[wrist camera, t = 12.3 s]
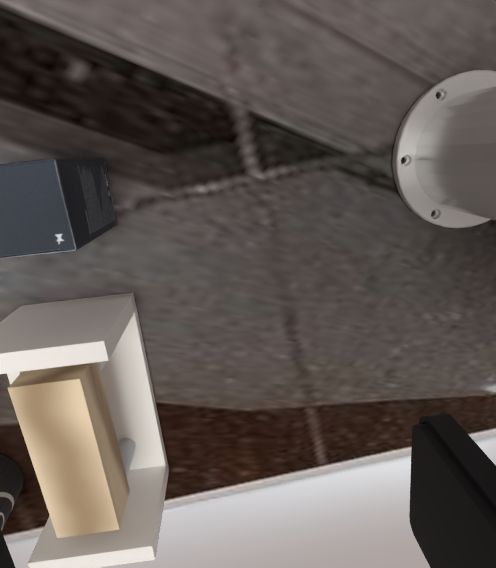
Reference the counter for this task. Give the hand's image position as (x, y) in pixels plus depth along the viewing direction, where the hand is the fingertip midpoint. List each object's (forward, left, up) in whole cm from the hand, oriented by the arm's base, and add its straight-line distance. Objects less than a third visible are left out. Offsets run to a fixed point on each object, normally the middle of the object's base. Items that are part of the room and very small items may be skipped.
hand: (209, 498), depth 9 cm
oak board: (+13, +14, -23) cm, 30 cm away
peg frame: (+13, +14, -28) cm, 34 cm away
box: (+12, -5, -29) cm, 31 cm away
